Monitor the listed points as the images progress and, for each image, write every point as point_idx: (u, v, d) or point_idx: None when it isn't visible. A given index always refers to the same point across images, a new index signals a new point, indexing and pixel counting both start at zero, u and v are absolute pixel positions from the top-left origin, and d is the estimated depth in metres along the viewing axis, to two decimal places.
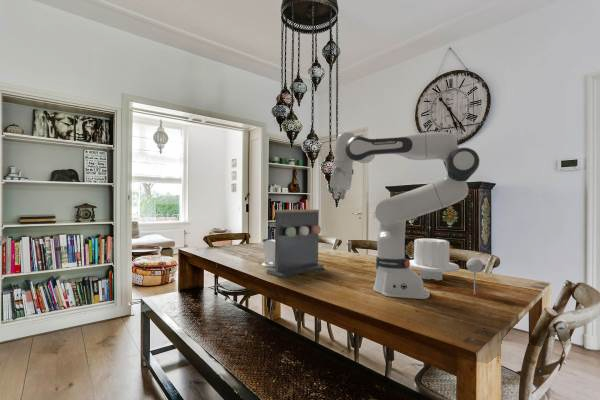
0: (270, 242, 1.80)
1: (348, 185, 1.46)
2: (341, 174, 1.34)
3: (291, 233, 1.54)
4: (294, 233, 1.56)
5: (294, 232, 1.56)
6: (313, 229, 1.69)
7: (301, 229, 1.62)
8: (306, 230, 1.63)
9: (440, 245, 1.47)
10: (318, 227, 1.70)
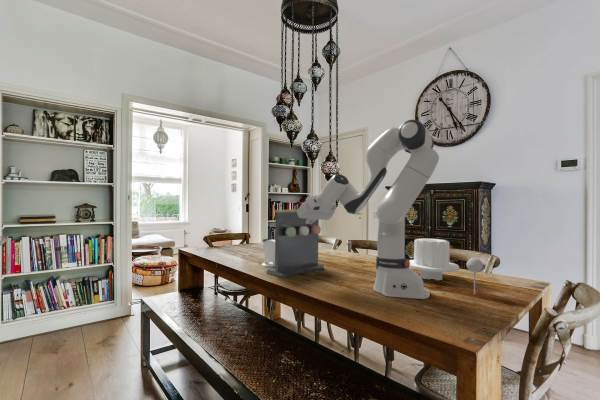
0: (270, 242, 1.80)
1: None
2: None
3: (291, 233, 1.54)
4: (294, 233, 1.56)
5: (294, 232, 1.56)
6: (313, 229, 1.69)
7: (301, 229, 1.62)
8: (306, 230, 1.63)
9: (440, 245, 1.47)
10: (318, 227, 1.70)
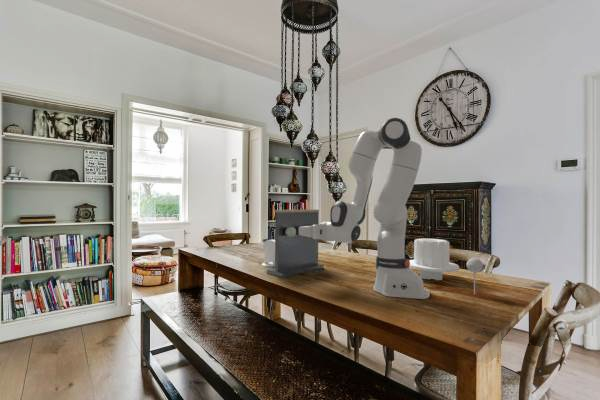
0: (270, 242, 1.80)
1: None
2: None
3: (291, 233, 1.54)
4: (294, 233, 1.56)
5: (294, 232, 1.56)
6: None
7: None
8: None
9: (440, 245, 1.47)
10: None
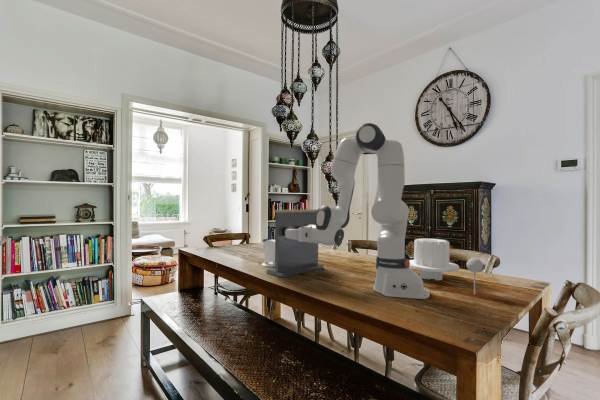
0: (270, 242, 1.80)
1: None
2: None
3: None
4: None
5: None
6: None
7: None
8: None
9: (440, 245, 1.47)
10: None
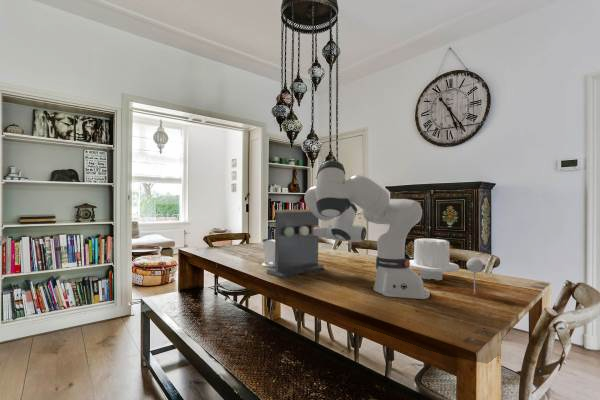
0: (270, 242, 1.80)
1: None
2: None
3: (289, 232, 1.55)
4: (292, 233, 1.57)
5: (292, 232, 1.57)
6: None
7: (301, 229, 1.62)
8: (306, 230, 1.63)
9: (440, 245, 1.47)
10: (318, 227, 1.70)
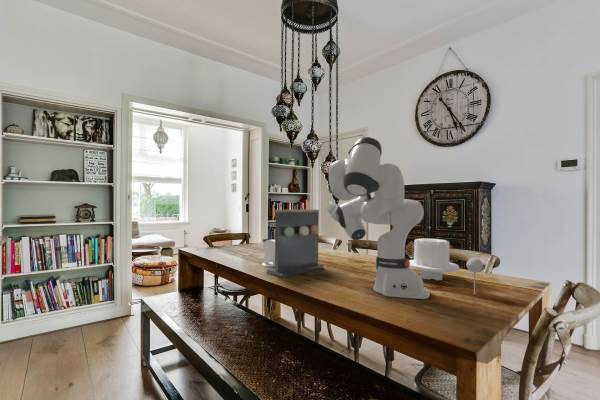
0: (270, 242, 1.80)
1: (334, 204, 1.57)
2: None
3: (289, 232, 1.55)
4: (292, 233, 1.57)
5: (292, 232, 1.57)
6: (311, 229, 1.70)
7: (301, 229, 1.62)
8: (306, 230, 1.63)
9: (440, 245, 1.47)
10: (316, 227, 1.71)
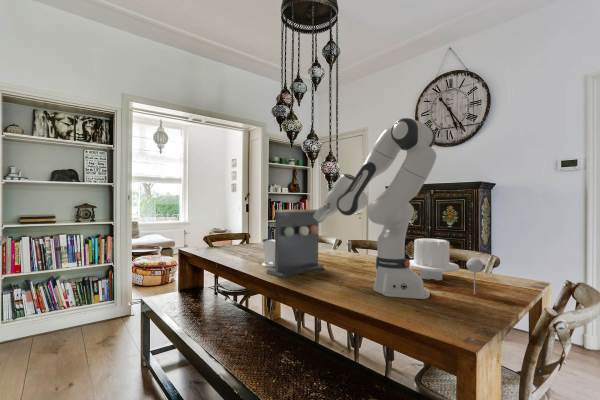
0: (270, 242, 1.80)
1: (335, 211, 1.61)
2: (327, 210, 1.48)
3: (289, 232, 1.55)
4: (292, 233, 1.57)
5: (292, 232, 1.57)
6: (311, 229, 1.70)
7: (301, 229, 1.62)
8: (306, 230, 1.63)
9: (440, 245, 1.47)
10: (316, 227, 1.71)
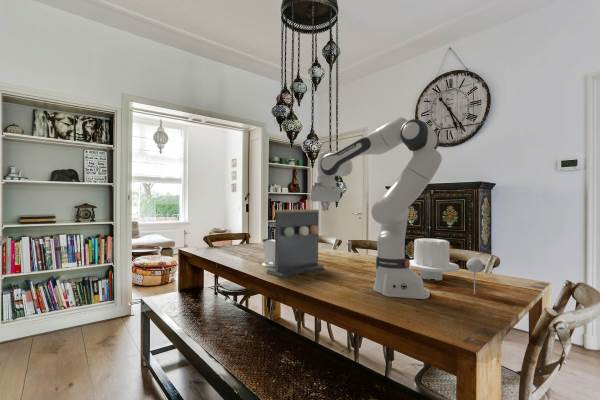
0: (270, 242, 1.80)
1: (337, 197, 1.60)
2: (321, 188, 1.50)
3: (289, 232, 1.55)
4: (292, 233, 1.57)
5: (292, 232, 1.57)
6: (311, 229, 1.70)
7: (301, 229, 1.62)
8: (306, 230, 1.63)
9: (440, 245, 1.47)
10: (316, 227, 1.71)
